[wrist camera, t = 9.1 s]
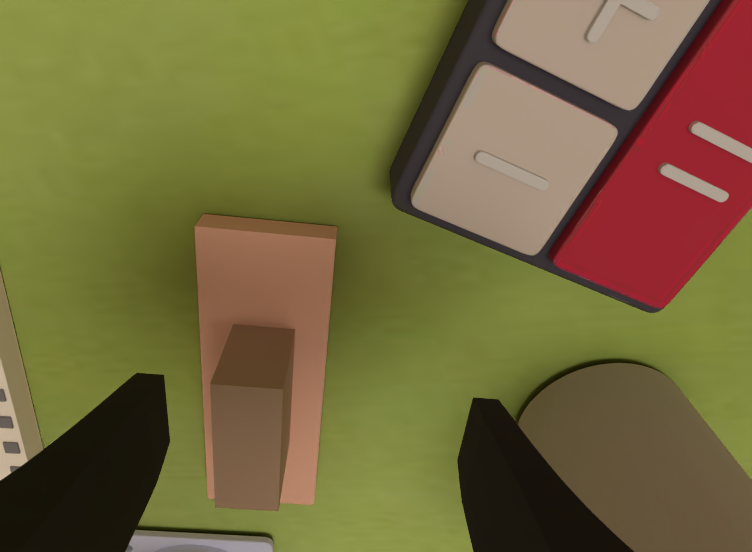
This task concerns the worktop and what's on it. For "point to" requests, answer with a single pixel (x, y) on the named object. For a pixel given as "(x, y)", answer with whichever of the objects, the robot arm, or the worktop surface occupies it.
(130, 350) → the worktop surface
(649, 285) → the calculator
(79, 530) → the robot arm
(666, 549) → the travel mug
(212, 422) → the pink block with handle
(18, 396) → the cream notepad
